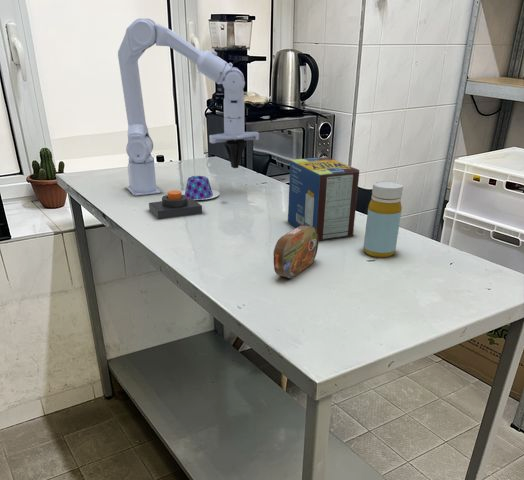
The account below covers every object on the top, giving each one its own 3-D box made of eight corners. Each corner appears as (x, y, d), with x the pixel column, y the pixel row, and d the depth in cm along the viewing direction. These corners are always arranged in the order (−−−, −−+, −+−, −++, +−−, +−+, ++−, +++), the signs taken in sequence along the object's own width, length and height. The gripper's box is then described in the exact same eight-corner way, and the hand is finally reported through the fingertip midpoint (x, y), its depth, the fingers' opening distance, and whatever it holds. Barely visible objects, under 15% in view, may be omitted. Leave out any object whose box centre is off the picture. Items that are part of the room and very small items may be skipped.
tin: (283, 284, 105) (285, 243, 101) (269, 280, 106) (270, 239, 102) (318, 260, 116) (321, 221, 112) (305, 257, 117) (307, 219, 113)
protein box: (322, 217, 141) (327, 156, 133) (353, 236, 129) (360, 170, 121) (286, 222, 138) (289, 159, 130) (315, 242, 126) (319, 173, 118)
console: (158, 219, 138) (156, 204, 136) (149, 210, 144) (147, 195, 142) (202, 213, 142) (201, 198, 140) (191, 205, 149) (191, 191, 146)
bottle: (376, 260, 116) (385, 190, 109) (356, 249, 122) (364, 182, 114) (401, 255, 119) (412, 186, 111) (381, 245, 125) (390, 178, 117)
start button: (170, 201, 139) (169, 194, 138) (166, 197, 142) (165, 191, 141) (183, 199, 141) (183, 193, 140) (179, 196, 143) (178, 189, 142)
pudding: (222, 201, 153) (221, 182, 150) (179, 203, 150) (178, 184, 148) (216, 190, 163) (216, 172, 160) (176, 191, 160) (175, 173, 158)
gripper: (215, 120, 144) (217, 172, 151) (263, 117, 150) (263, 168, 157) (205, 117, 150) (207, 167, 157) (253, 114, 155) (252, 163, 162)
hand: (234, 167), depth 157 cm, fingers closed
